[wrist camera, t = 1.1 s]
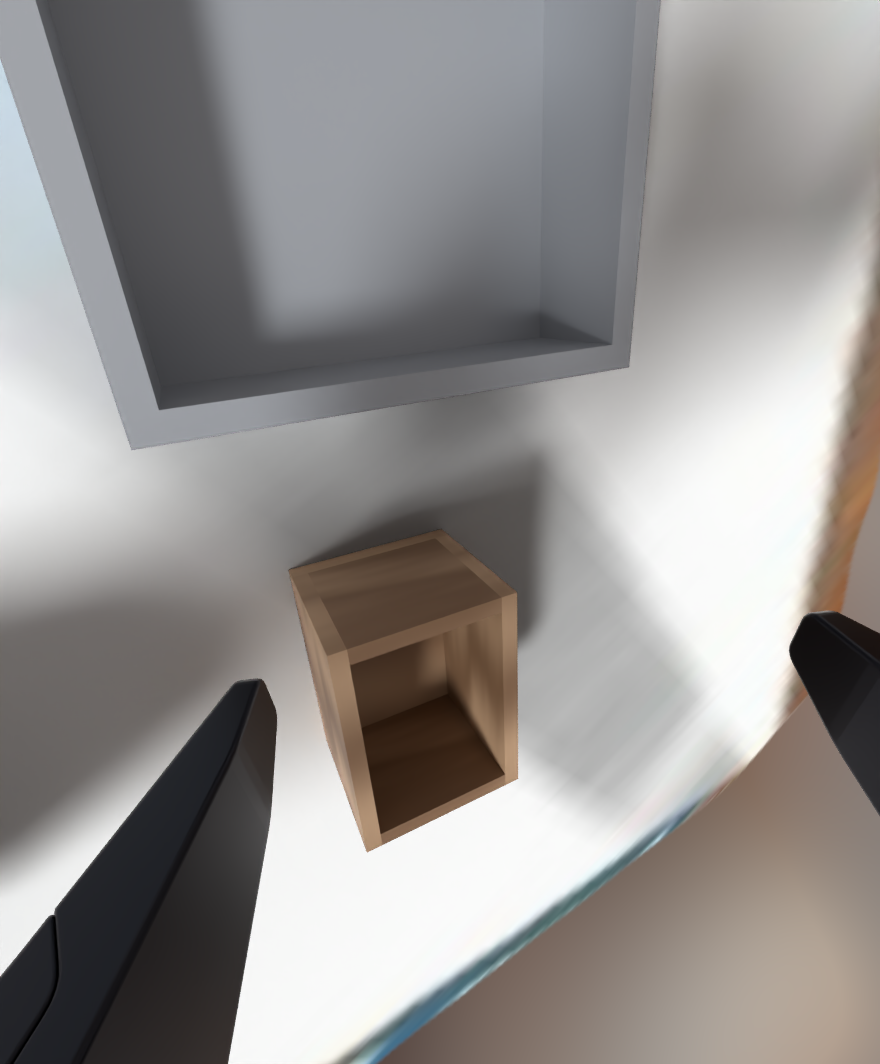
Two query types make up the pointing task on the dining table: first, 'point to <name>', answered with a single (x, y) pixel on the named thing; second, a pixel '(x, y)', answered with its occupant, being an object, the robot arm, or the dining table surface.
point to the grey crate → (338, 195)
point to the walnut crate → (412, 678)
